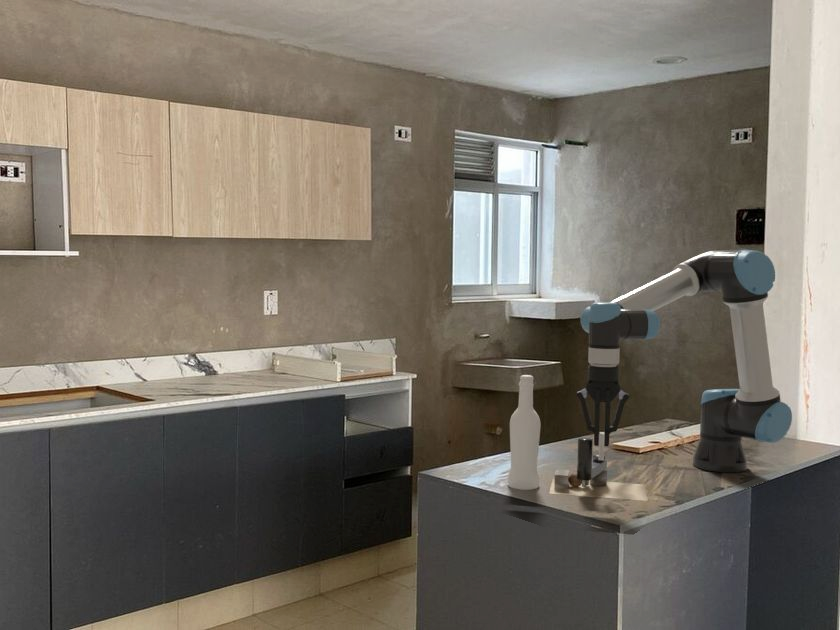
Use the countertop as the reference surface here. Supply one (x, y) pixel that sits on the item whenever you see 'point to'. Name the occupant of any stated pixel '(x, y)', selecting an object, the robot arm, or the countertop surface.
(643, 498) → the board
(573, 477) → the brown ball
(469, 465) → the countertop surface
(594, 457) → the lever
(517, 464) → the bottle
